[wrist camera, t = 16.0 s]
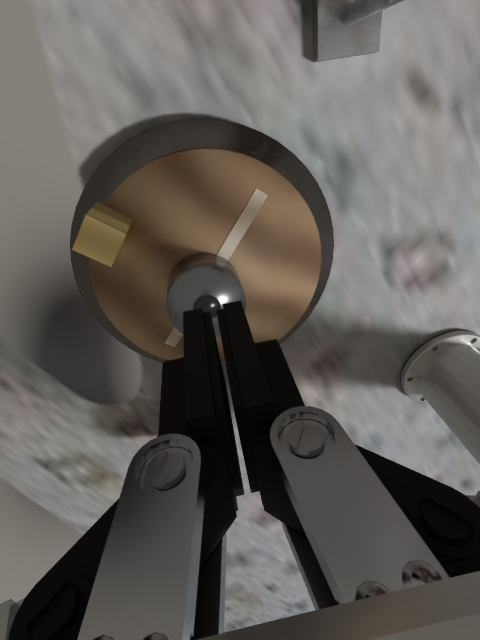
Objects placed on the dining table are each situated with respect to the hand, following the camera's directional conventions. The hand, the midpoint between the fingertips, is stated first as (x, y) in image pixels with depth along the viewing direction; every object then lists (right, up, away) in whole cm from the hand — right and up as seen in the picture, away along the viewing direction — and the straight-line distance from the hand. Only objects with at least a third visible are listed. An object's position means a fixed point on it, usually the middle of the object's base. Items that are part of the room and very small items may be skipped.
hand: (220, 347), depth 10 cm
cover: (-3, +4, +23) cm, 24 cm away
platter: (-3, +6, +24) cm, 25 cm away
